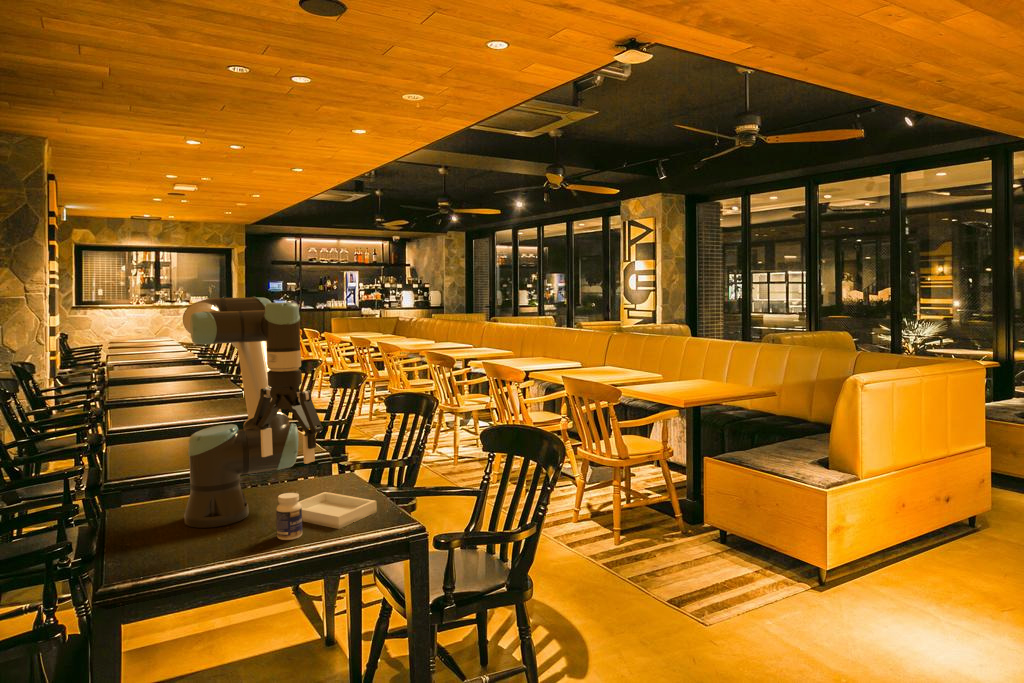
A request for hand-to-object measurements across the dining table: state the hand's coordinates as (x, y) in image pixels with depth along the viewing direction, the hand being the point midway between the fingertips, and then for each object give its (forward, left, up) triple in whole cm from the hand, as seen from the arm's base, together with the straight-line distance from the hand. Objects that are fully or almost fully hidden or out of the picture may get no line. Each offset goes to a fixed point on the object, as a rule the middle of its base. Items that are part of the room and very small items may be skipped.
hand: (287, 459), depth 159 cm
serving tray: (-2, +16, -19) cm, 24 cm away
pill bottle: (0, 0, -19) cm, 19 cm away
